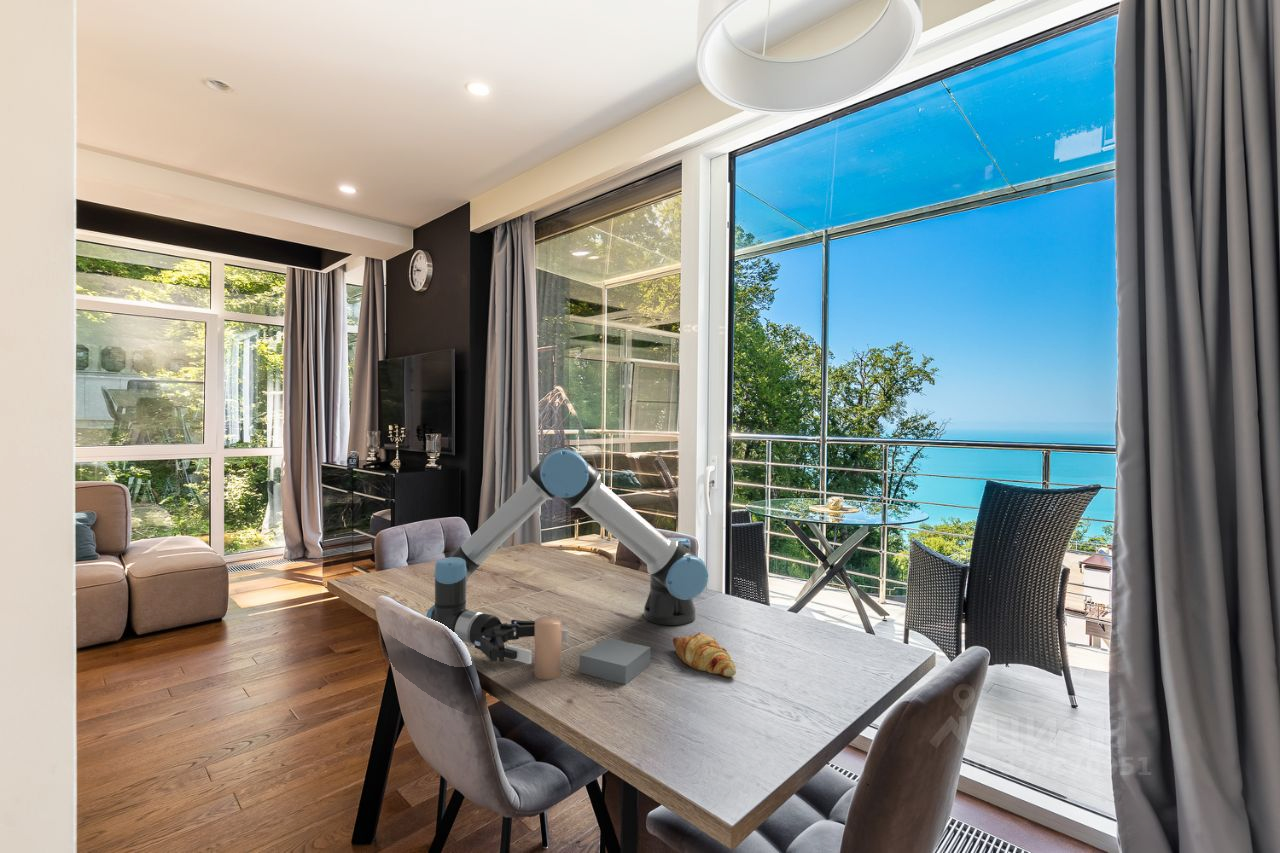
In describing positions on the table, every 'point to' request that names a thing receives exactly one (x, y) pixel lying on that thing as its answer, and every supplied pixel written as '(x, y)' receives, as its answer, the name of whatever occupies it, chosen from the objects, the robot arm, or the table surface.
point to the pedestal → (615, 660)
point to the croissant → (704, 654)
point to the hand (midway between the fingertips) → (550, 646)
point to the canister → (547, 648)
